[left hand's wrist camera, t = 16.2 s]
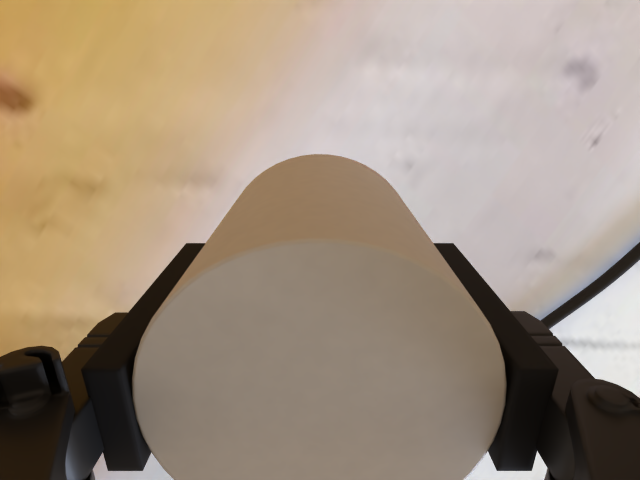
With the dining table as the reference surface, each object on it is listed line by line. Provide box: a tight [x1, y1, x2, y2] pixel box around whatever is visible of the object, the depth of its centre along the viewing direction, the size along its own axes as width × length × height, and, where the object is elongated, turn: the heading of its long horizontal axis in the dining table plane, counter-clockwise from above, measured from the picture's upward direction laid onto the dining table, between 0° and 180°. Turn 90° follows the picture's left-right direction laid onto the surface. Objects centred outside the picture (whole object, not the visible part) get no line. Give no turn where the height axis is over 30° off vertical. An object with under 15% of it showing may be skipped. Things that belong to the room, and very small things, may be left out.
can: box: [132, 154, 507, 480], centre depth 12 cm, size 8×8×9 cm
